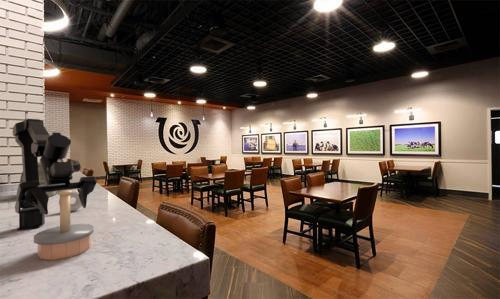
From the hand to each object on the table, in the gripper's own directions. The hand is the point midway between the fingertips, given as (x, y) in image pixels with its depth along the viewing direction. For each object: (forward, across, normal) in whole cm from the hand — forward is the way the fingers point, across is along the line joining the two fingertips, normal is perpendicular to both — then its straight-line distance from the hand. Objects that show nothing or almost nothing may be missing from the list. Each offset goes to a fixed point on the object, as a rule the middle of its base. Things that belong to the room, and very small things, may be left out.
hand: (66, 210), depth 72 cm
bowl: (+8, 0, +10) cm, 12 cm away
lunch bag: (-74, +21, +92) cm, 120 cm away
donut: (-29, +18, +46) cm, 58 cm away
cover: (+4, 0, +6) cm, 8 cm away
